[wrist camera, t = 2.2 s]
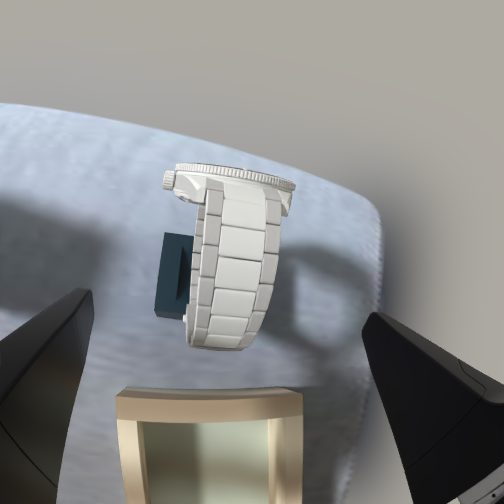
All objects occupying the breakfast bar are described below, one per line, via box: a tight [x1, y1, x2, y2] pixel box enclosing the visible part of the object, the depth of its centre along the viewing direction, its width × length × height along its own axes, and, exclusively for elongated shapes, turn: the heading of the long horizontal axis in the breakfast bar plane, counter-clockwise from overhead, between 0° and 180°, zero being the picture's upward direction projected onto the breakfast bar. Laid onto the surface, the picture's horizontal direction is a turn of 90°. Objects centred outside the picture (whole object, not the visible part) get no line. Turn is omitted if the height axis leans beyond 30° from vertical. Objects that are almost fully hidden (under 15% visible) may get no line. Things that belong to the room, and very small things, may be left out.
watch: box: [154, 163, 296, 351], centre depth 14 cm, size 6×8×11 cm
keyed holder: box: [116, 387, 303, 504], centre depth 13 cm, size 12×10×4 cm
